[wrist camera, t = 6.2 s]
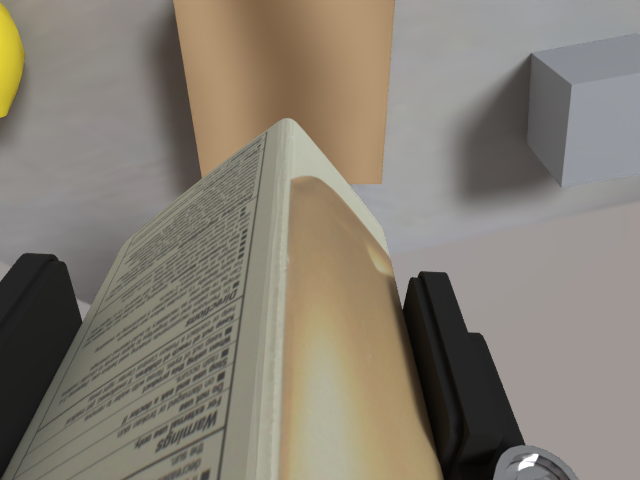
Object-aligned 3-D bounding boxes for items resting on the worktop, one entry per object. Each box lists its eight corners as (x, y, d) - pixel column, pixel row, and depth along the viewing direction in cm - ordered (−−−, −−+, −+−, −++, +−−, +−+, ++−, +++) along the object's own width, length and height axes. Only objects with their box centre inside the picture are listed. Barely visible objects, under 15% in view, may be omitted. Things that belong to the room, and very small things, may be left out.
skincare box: (227, 326, 16) (85, 1062, 6) (119, 238, 14) (-372, 1131, 4) (396, 222, 14) (624, 1114, 4) (297, 100, 12) (215, 1330, 2)
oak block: (385, -29, 23) (395, -15, 20) (374, 149, 28) (381, 184, 25) (192, -27, 23) (171, -13, 20) (216, 150, 28) (203, 185, 25)
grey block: (635, 33, 24) (698, 62, 20) (619, 127, 27) (672, 170, 23) (531, 52, 25) (572, 85, 21) (526, 143, 28) (561, 187, 24)
